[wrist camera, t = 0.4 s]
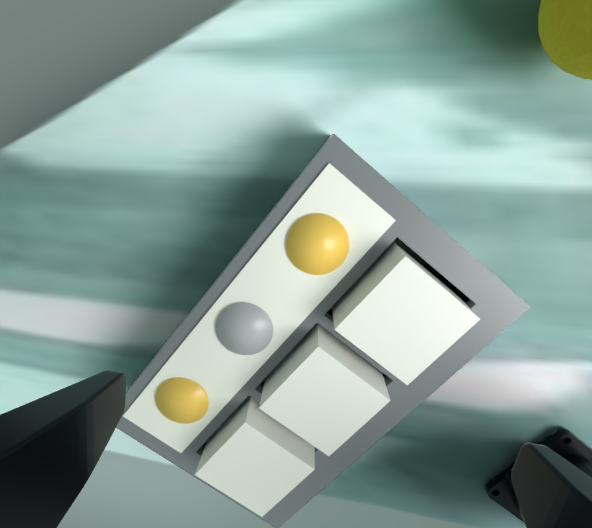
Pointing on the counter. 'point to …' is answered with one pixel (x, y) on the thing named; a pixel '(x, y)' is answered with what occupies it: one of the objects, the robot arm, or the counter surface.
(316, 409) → the button
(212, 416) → the board
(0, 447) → the robot arm
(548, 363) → the counter surface
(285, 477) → the button
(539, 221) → the counter surface
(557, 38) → the lemon
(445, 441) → the counter surface
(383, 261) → the button
